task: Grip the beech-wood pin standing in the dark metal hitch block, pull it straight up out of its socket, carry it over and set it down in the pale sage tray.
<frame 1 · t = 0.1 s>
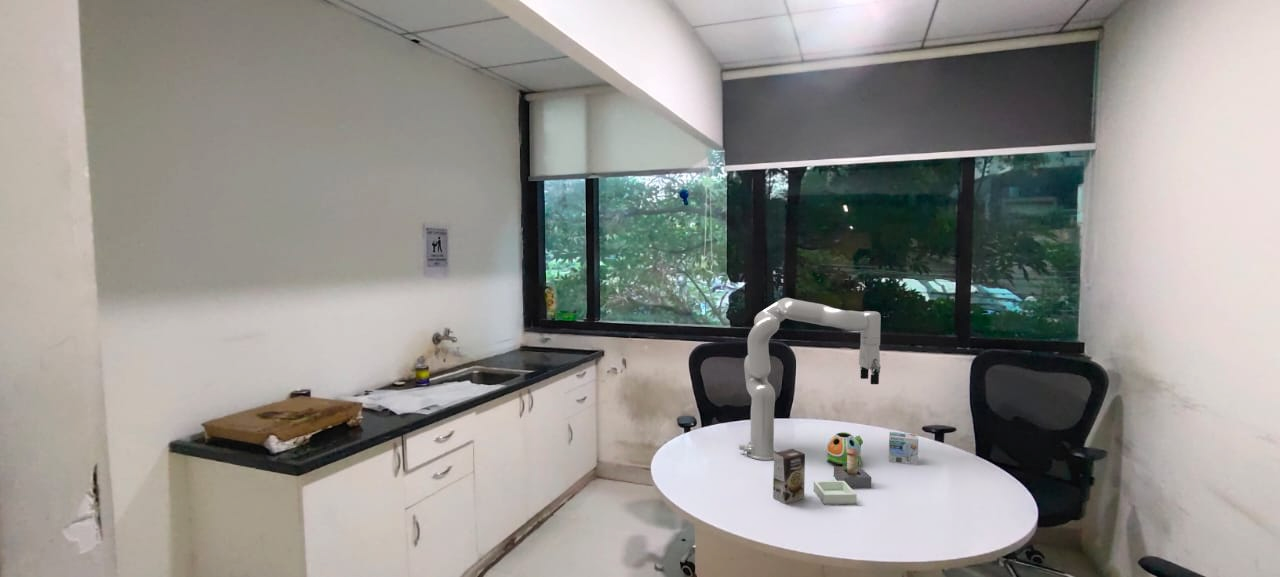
hand: (869, 381, 229), 31 cm above the table, tool pointing down, fingers open, 9 cm apart
coffee box: (788, 498, 191), on the table
hitch block: (851, 482, 203), on the table
pin: (852, 466, 202), in the hitch block
light bulb box: (902, 461, 223), on the table
turtle holder: (845, 463, 222), on the table
tray: (834, 497, 191), on the table
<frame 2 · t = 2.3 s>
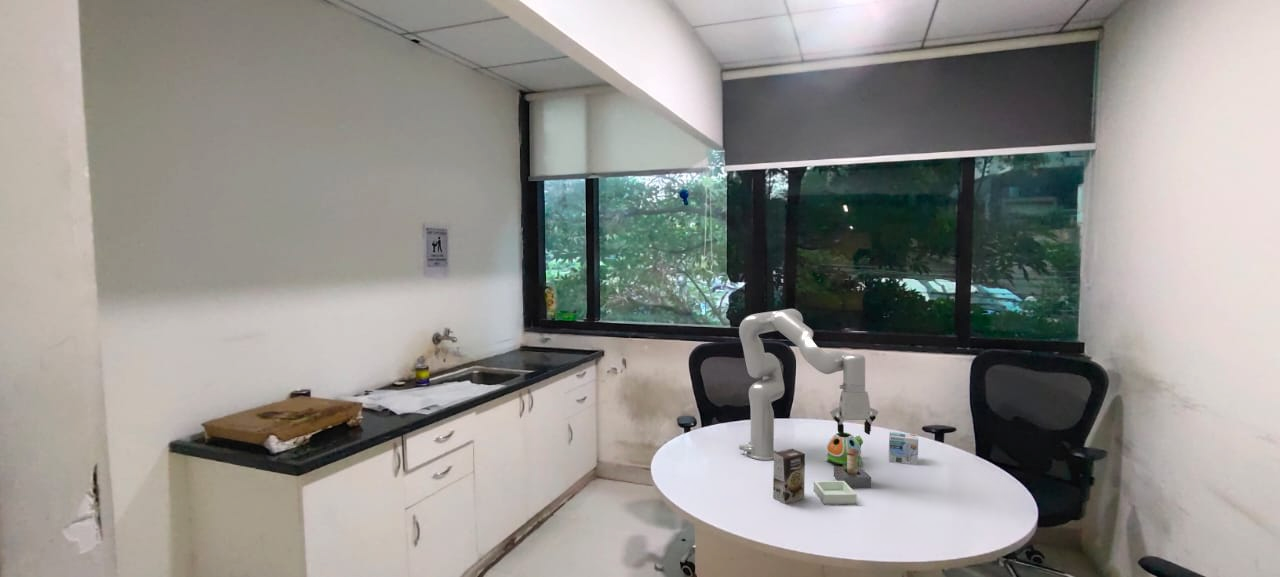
hand: (854, 433, 201), 19 cm above the table, tool pointing down, fingers open, 9 cm apart
nothing on the table moved.
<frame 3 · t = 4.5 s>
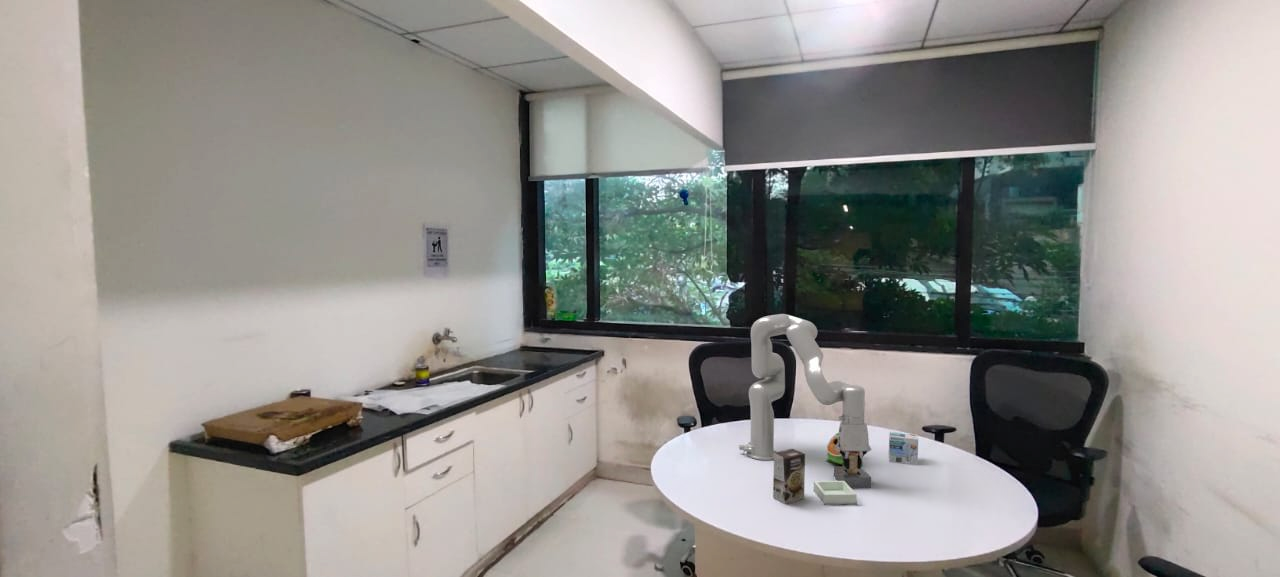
hand: (852, 467, 202), 6 cm above the table, tool pointing down, fingers closed on pin, 3 cm apart
pin: (852, 466, 202), in the hitch block, touching gripper
everything else where it was.
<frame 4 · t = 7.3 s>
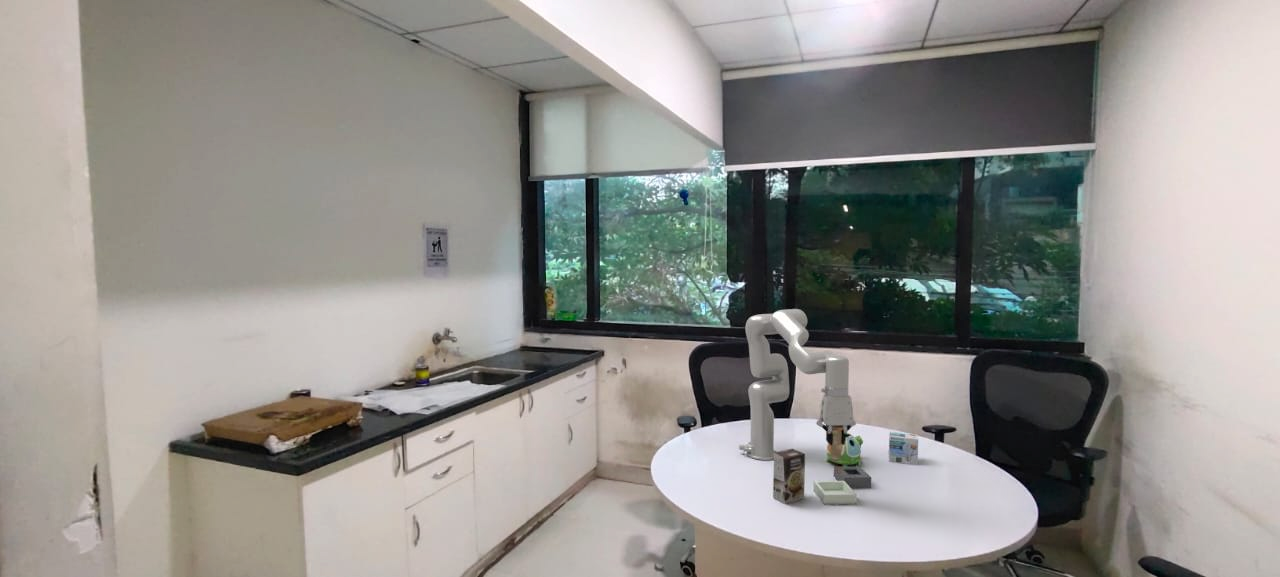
hand: (835, 443, 190), 19 cm above the table, tool pointing down, fingers closed on pin, 3 cm apart
pin: (835, 442, 190), point 20 cm above the table, touching gripper
everything else where it was.
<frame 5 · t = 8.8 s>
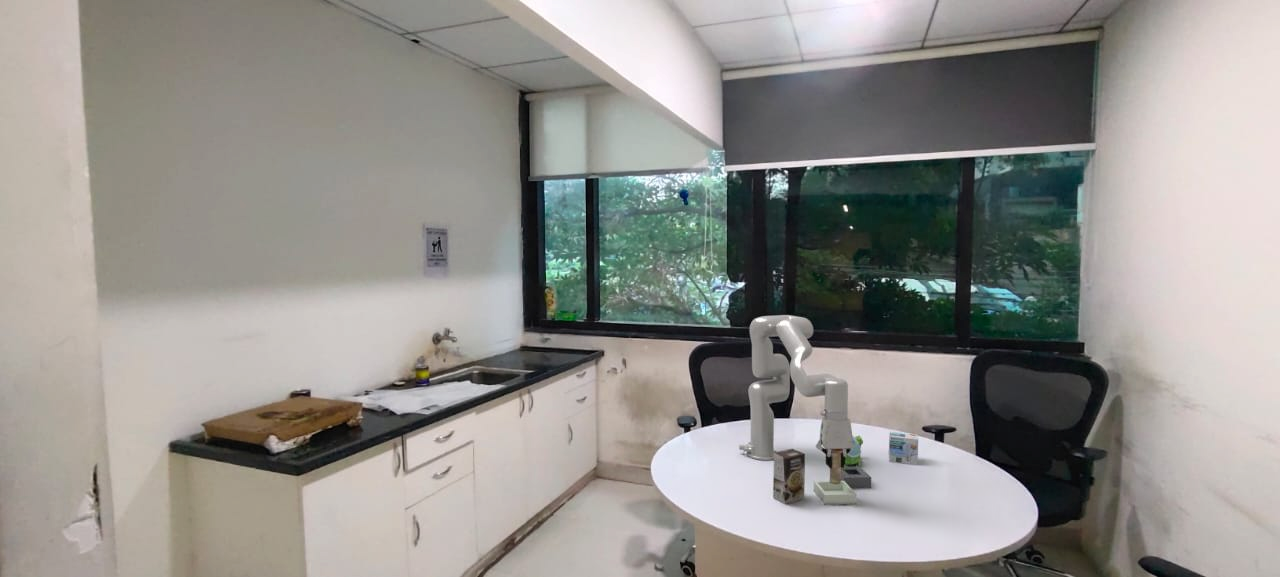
hand: (835, 466, 190), 11 cm above the table, tool pointing down, fingers closed on pin, 3 cm apart
pin: (835, 465, 190), point 12 cm above the table, touching gripper
everything else where it was.
when the fingers open (7 cm above the table, at t = 10.3 s): pin stays where it is, resting on tray.
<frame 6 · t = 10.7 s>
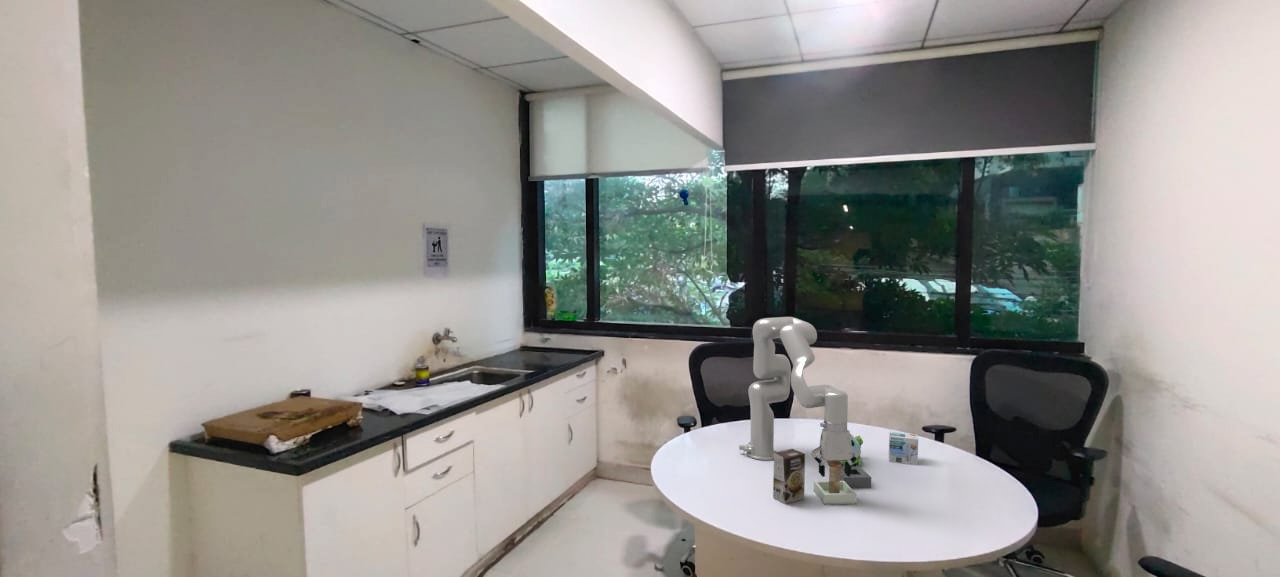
hand: (834, 474, 190), 8 cm above the table, tool pointing down, fingers open, 8 cm apart
pin: (834, 478, 190), in the tray, point 7 cm above the table
everything else where it was.
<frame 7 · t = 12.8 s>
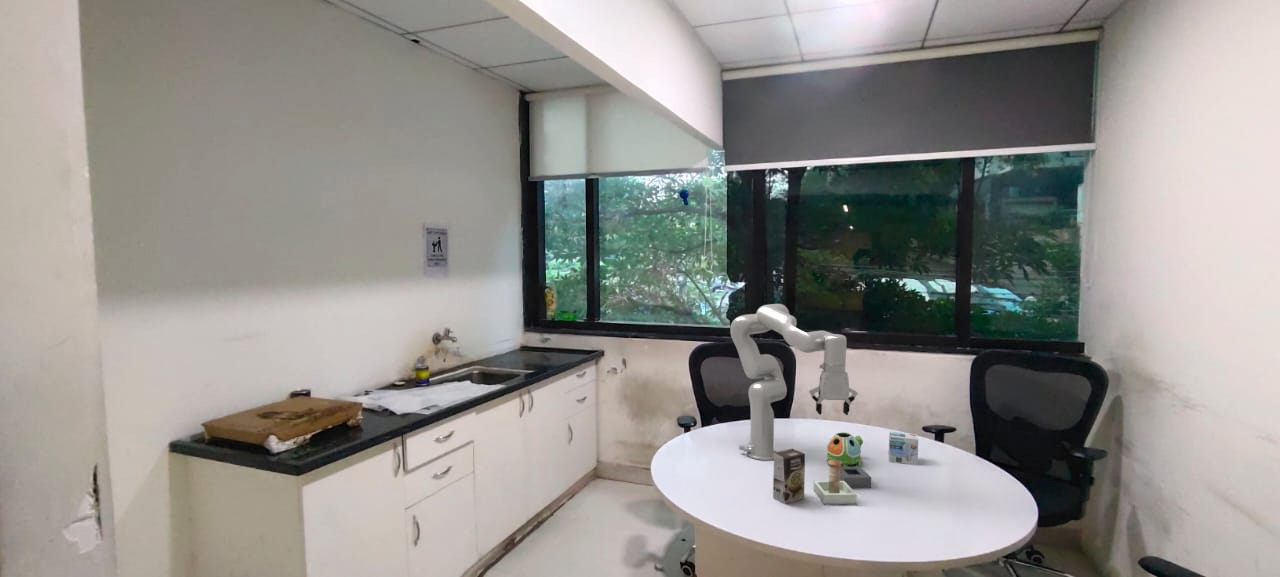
hand: (832, 413, 201), 26 cm above the table, tool pointing down, fingers open, 9 cm apart
nothing on the table moved.
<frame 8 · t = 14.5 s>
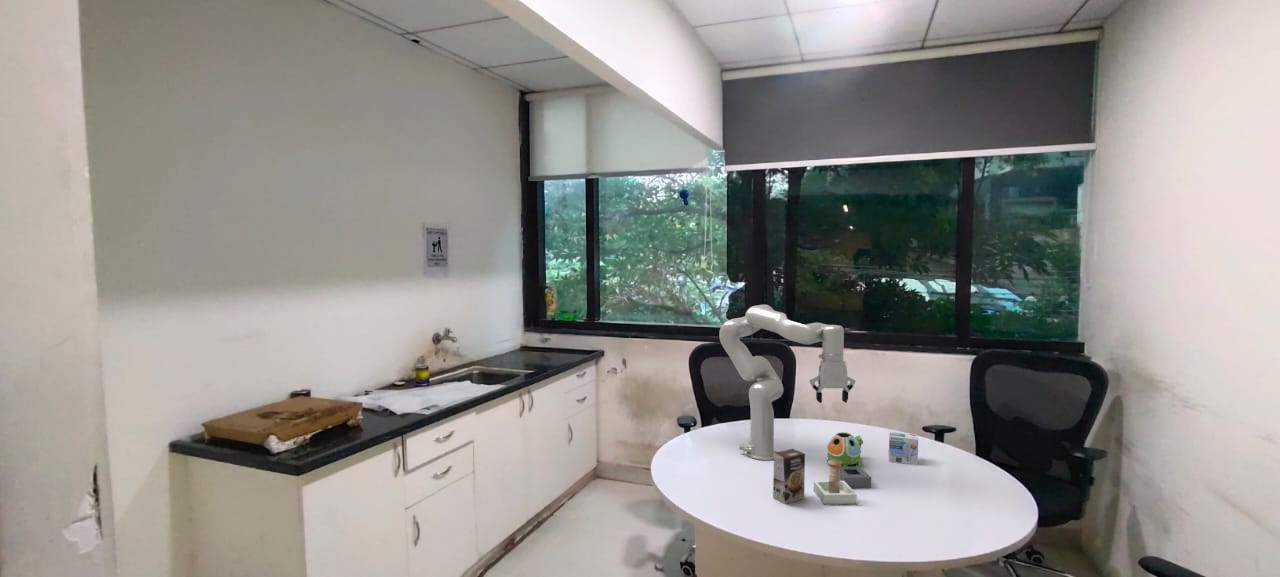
hand: (832, 401, 209), 28 cm above the table, tool pointing down, fingers open, 9 cm apart
nothing on the table moved.
at the end: pin inside the target area on the tray (0.1 cm from its centre), point 6.6 cm above the tray's base; the gripper is holding nothing; pin touching tray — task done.
